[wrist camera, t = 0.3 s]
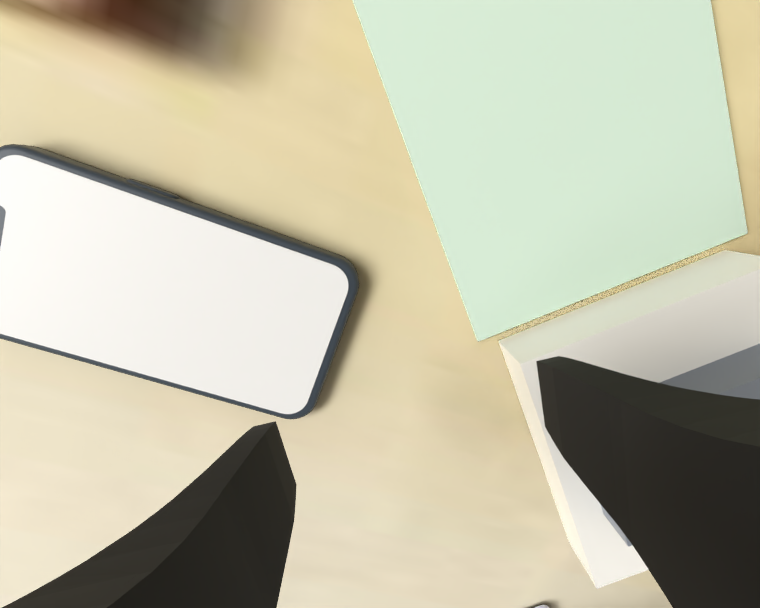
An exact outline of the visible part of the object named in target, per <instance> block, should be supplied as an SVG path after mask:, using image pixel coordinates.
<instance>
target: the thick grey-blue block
mask: <svg viewBox="0 0 760 608" xmlns="http://www.w3.org/2000/svg"><path fill="white" fill-rule="evenodd" d="M660 383H662V384H666V385H670V386H675V387H680V388H685V389H690V390H696V391H702V392H707V393H713V394H719V395H726V396H733V397H741V398H750V399H760V344H757V345H755V346H752V347H750V348H747V349H744V350H742V351H739V352H737V353H734V354H732V355H729V356H726V357H724V358H721V359H719V360H716V361H714V362H711V363H708V364H706V365H703V366H701V367H698V368H696V369H693V370H690V371H688V372H685V373H683V374H680V375H678V376H675V377H672V378H670V379H667V380H665V381H662V382H660ZM601 508H602V511H603V514H604V516H605V517H606V518H607V519H608V521H609V522H610V523H611V525H612V526H613V527H614V529H615V530H616V531H617V533H618V534H619V535H620V536H621V538H622V539H623V540H624V542H625V543H626V544H627V546H628V547H629V546H632V544H631V542H630V541H629V540H628V538H627V537H626V536H625V534H624V533H623V532H622V530H621V529H620V528H619V526H618V525H617V524H616V523H615V521H614V520H613V519H612V518H611V516H610V515H609V514H608V513H607V511H606V510H605V509H604V508H603V507H602V505H601Z"/></svg>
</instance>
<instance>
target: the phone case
mask: <svg viewBox="0 0 760 608" xmlns="http://www.w3.org/2000/svg"><path fill="white" fill-rule="evenodd" d="M358 288H359V280H358V274H357V271H356V269H355V267H354V266H353V264H352V263H351V262H350V261H349V260H348V259H346V258H345V257H343V256H341V255H338V254H335V253H333V252H330V251H327V250H324V249H321V248H319V247H316V246H313V245H310V244H308V243H305V242H302V241H299V240H296V239H294V238H291V237H288V236H285V235H283V234H280V233H277V232H274V231H271V230H269V229H266V228H263V227H260V226H258V225H255V224H252V223H249V222H246V221H244V220H241V219H238V218H235V217H232V216H230V215H227V214H224V213H221V212H218V211H215V210H213V209H210V208H207V207H204V206H201V205H199V204H196V203H193V202H190V201H187V200H185V199H182V198H179V196H178V195H176V194H173V193H171V192H168V191H165V190H162V189H159V188H157V187H154V186H151V185H148V184H145V183H143V182H140V181H137V180H134V179H126V178H123V177H120V176H117V175H114V174H112V173H109V172H106V171H103V170H100V169H98V168H95V167H92V166H89V165H86V164H84V163H81V162H78V161H75V160H72V159H69V158H67V157H64V156H61V155H58V154H55V153H53V152H50V151H47V150H44V149H41V148H38V147H34V146H27V145H16V144H11V145H4V146H2V147H0V338H1V339H4V340H8V341H11V342H15V343H18V344H22V345H25V346H29V347H33V348H36V349H40V350H43V351H47V352H50V353H54V354H57V355H61V356H65V357H68V358H72V359H75V360H79V361H82V362H86V363H89V364H93V365H96V366H100V367H104V368H107V369H111V370H114V371H118V372H121V373H125V374H128V375H132V376H135V377H139V378H143V379H146V380H150V381H153V382H157V383H160V384H164V385H167V386H171V387H174V388H178V389H182V390H185V391H189V392H192V393H196V394H199V395H203V396H206V397H210V398H213V399H217V400H221V401H224V402H228V403H231V404H235V405H238V406H242V407H245V408H249V409H252V410H256V411H260V412H263V413H267V414H270V415H274V416H277V417H281V418H285V419H297V418H301V417H304V416H305V415H307V414H308V413H310V412H311V411H312V409H313V408H314V407H315V405H316V403H317V400H318V398H319V395H320V392H321V389H322V387H323V384H324V381H325V379H326V376H327V373H328V371H329V368H330V365H331V363H332V360H333V357H334V354H335V352H336V349H337V346H338V344H339V341H340V338H341V336H342V333H343V330H344V328H345V325H346V322H347V320H348V317H349V314H350V311H351V309H352V306H353V303H354V301H355V298H356V295H357V292H358Z"/></svg>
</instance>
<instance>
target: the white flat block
mask: <svg viewBox="0 0 760 608" xmlns="http://www.w3.org/2000/svg"><path fill="white" fill-rule="evenodd" d="M498 342H499V344H500V347H501V350H502V353H503V356H504V359H505V362H506V364H507V367H508V370H509V373H510V376H511V379H512V381H513V384H514V387H515V390H516V393H517V396H518V398H519V401H520V404H521V407H522V410H523V413H524V415H525V418H526V421H527V424H528V427H529V430H530V433H531V435H532V438H533V441H534V444H535V447H536V450H537V452H538V455H539V458H540V461H541V464H542V467H543V469H544V472H545V475H546V478H547V481H548V484H549V487H550V489H551V492H552V495H553V498H554V501H555V504H556V506H557V509H558V512H559V515H560V518H561V521H562V523H563V526H564V529H565V532H566V535H567V538H568V540H569V543H570V545H571V547H572V548H573V550H574V552H575V553H576V555H577V557H578V558H579V560H580V561H581V563H582V565H583V566H584V568H585V570H586V571H587V573H588V575H589V576H590V578H591V580H592V581H593V583H594V585H595V586H596V588H597V589H598V588H600V587H603V586H606V585H608V584H611V583H614V582H617V581H619V580H622V579H625V578H627V577H630V576H633V575H636V574H638V573H641V572H644V571H646V570H649V569H648V568H647V566H646V565H645V563H644V562H643V560H642V559H641V557H640V556H639V554H638V553H637V551H636V550H635V548H634V547H633V545H632V546H629V547H628V546H627V544H626V543H625V542H624V540H623V539H622V538H621V536H620V535H619V534H618V533H617V531H616V530H615V529H614V527H613V526H612V525H611V523H610V522H609V521H608V519H607V518H606V517H605V516H604V514H603V511H602V508H601V504H600V503H599V502H598V500H597V499H596V498H595V497H594V495H593V494H592V493H591V492H590V491H589V489H588V488H587V487H586V486H585V484H584V483H583V482H582V481H581V479H580V478H579V477H578V476H577V474H576V473H575V472H574V471H573V469H572V468H571V467H570V466H569V464H568V463H567V462H566V460H565V459H564V458H563V456H562V455H561V453H560V451H559V450H558V448H557V447H556V445H555V443H554V442H553V440H552V438H551V436H550V435H549V433H548V431H547V430H546V428H545V423H544V415H543V408H542V400H541V393H540V385H539V378H538V370H537V363H536V361H539V360H544V359H548V358H552V357H557V356H561V357H567V358H571V359H575V360H578V361H582V362H585V363H589V364H592V365H596V366H599V367H602V368H606V369H609V370H612V371H616V372H619V373H623V374H626V375H630V376H634V377H638V378H641V379H645V380H649V381H653V382H658V383H660V382H662V381H665V380H667V379H670V378H672V377H675V376H678V375H680V374H683V373H685V372H688V371H690V370H693V369H696V368H698V367H701V366H703V365H706V364H708V363H711V362H714V361H716V360H719V359H721V358H724V357H726V356H729V355H732V354H734V353H737V352H739V351H742V350H744V349H747V348H750V347H752V346H755V345H757V344H760V256H758V255H752V254H746V253H740V252H734V251H728V250H723V251H720V252H718V253H715V254H713V255H710V256H708V257H705V258H703V259H700V260H698V261H695V262H693V263H690V264H688V265H685V266H683V267H680V268H678V269H676V270H673V271H671V272H668V273H666V274H663V275H661V276H658V277H656V278H653V279H651V280H648V281H646V282H643V283H641V284H638V285H636V286H633V287H631V288H628V289H626V290H623V291H621V292H618V293H616V294H613V295H611V296H608V297H606V298H603V299H601V300H598V301H596V302H593V303H591V304H588V305H586V306H583V307H581V308H578V309H576V310H573V311H571V312H568V313H566V314H563V315H561V316H558V317H556V318H553V319H551V320H548V321H546V322H543V323H541V324H538V325H536V326H533V327H531V328H528V329H526V330H523V331H521V332H518V333H516V334H513V335H511V336H508V337H506V338H504V339H501V340H499V341H498Z"/></svg>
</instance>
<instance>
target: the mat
mask: <svg viewBox="0 0 760 608" xmlns="http://www.w3.org/2000/svg"><path fill="white" fill-rule="evenodd" d="M352 1H353V4H354V7H355V10H356V12H357V15H358V18H359V20H360V23H361V26H362V29H363V31H364V34H365V37H366V39H367V42H368V45H369V48H370V50H371V53H372V56H373V59H374V61H375V64H376V67H377V69H378V72H379V75H380V78H381V80H382V83H383V86H384V88H385V91H386V94H387V97H388V99H389V102H390V105H391V108H392V110H393V113H394V116H395V118H396V121H397V124H398V127H399V129H400V132H401V135H402V137H403V140H404V143H405V146H406V148H407V151H408V154H409V157H410V159H411V162H412V165H413V167H414V170H415V173H416V176H417V178H418V181H419V184H420V187H421V189H422V192H423V195H424V197H425V200H426V203H427V206H428V208H429V211H430V214H431V216H432V219H433V222H434V225H435V227H436V230H437V233H438V236H439V238H440V241H441V244H442V246H443V249H444V252H445V255H446V257H447V260H448V263H449V265H450V268H451V271H452V274H453V276H454V279H455V282H456V285H457V287H458V290H459V293H460V295H461V298H462V301H463V304H464V306H465V309H466V312H467V315H468V317H469V320H470V323H471V325H472V328H473V331H474V334H475V336H476V339H477V341H478V342H479V341H481V340H484V339H486V338H489V337H491V336H494V335H496V334H499V333H501V332H503V331H506V330H508V329H511V328H513V327H516V326H518V325H521V324H523V323H526V322H528V321H531V320H533V319H536V318H538V317H541V316H543V315H546V314H548V313H551V312H553V311H556V310H558V309H561V308H563V307H566V306H568V305H571V304H573V303H576V302H578V301H581V300H583V299H586V298H588V297H591V296H593V295H596V294H598V293H601V292H603V291H605V290H608V289H610V288H613V287H615V286H618V285H620V284H623V283H625V282H628V281H630V280H633V279H635V278H638V277H640V276H643V275H645V274H648V273H650V272H653V271H655V270H658V269H660V268H663V267H665V266H668V265H670V264H673V263H675V262H678V261H680V260H683V259H685V258H688V257H690V256H693V255H695V254H698V253H700V252H703V251H705V250H707V249H710V248H712V247H715V246H717V245H720V244H722V243H725V242H727V241H730V240H732V239H735V238H737V237H740V236H742V235H745V234H747V233H748V231H747V225H746V219H745V213H744V206H743V200H742V194H741V188H740V181H739V175H738V169H737V163H736V156H735V150H734V144H733V137H732V131H731V125H730V119H729V112H728V106H727V100H726V94H725V87H724V81H723V75H722V69H721V62H720V56H719V50H718V43H717V37H716V31H715V25H714V18H713V12H712V6H711V0H352Z"/></svg>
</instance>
